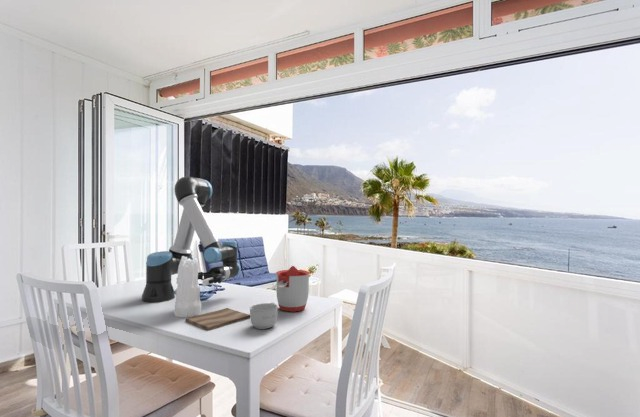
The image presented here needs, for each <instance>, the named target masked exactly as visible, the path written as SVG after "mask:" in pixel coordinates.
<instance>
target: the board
mask: <svg viewBox="0 0 640 417" xmlns="http://www.w3.org/2000/svg"><path fill="white" fill-rule="evenodd" d="M247 319H250V314H248V313H245V312H241V311H238V310H234V309H232V308H228V307H225V308H222V309H218V310H214V311H210V312H207V313H202V314H199V315H197V316H193V317H185V322H186V323H189V324H192V325H194V326H196V327H199V328H201V329H204V330H206V331H212V330H214V329H219V328H221V327H224V326H227V325H231V324H234V323H237V322H241V321H245V320H247Z"/></svg>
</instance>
